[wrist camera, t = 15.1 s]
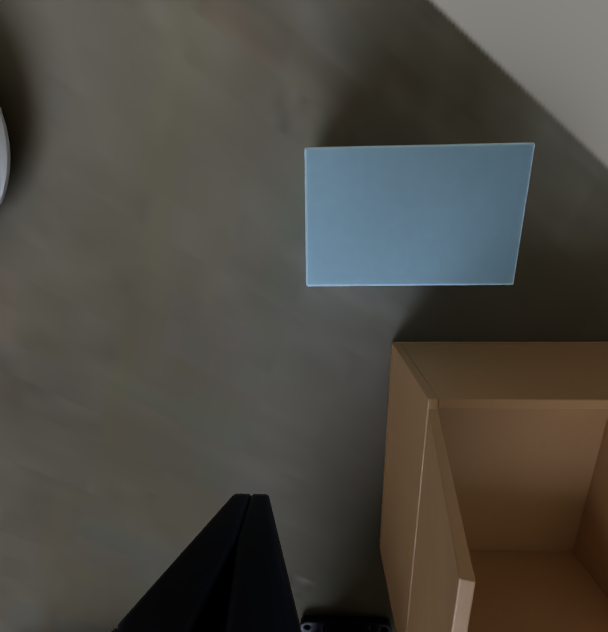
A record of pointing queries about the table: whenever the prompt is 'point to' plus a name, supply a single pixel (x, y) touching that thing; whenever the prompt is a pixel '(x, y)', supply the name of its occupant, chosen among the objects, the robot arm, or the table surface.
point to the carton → (506, 477)
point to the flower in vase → (4, 157)
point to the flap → (440, 547)
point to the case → (415, 213)
